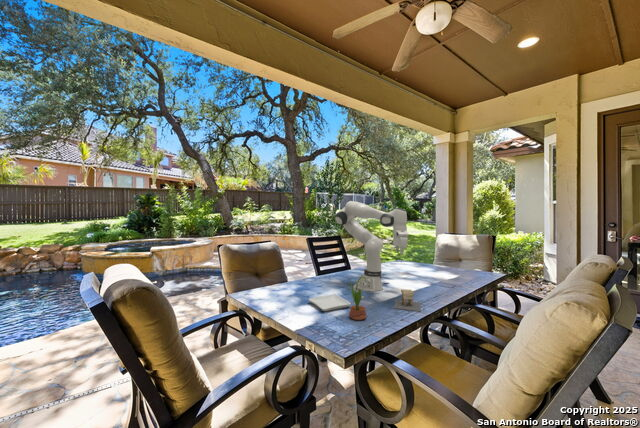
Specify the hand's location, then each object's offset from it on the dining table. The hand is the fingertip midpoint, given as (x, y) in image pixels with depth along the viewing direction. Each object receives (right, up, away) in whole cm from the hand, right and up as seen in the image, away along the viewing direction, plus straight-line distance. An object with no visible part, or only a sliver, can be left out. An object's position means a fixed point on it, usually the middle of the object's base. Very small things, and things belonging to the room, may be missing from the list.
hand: (399, 253), depth 190 cm
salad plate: (-47, -33, -7) cm, 58 cm away
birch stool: (+3, -33, -6) cm, 33 cm away
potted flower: (-31, -34, -27) cm, 53 cm away
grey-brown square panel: (+3, -33, -7) cm, 34 cm away
